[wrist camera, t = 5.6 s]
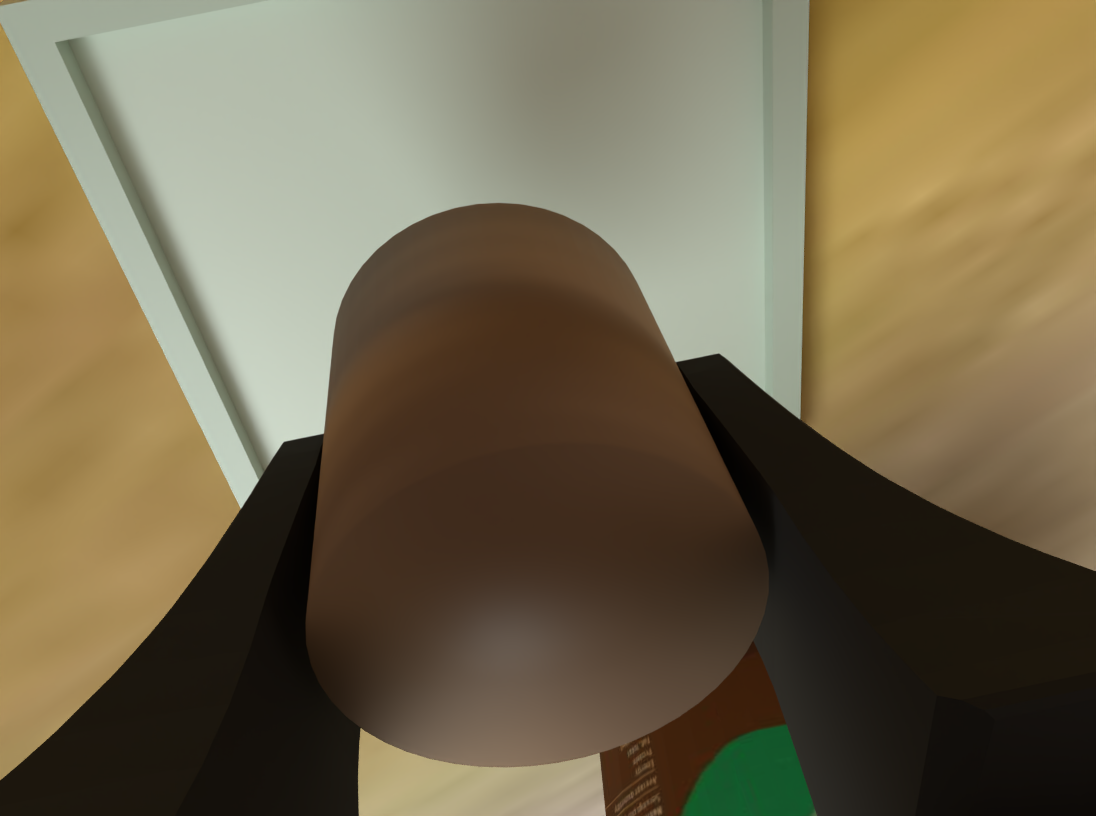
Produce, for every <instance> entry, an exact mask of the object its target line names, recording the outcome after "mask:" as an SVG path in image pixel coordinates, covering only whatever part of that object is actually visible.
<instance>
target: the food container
mask: <svg viewBox="0 0 1096 816" xmlns="http://www.w3.org/2000/svg"><path fill="white" fill-rule="evenodd" d="M600 761H601V771H602V781H603V791H604V801H605V811H606V816H817V814H816V811H815V808H814V805H813V802H812V799H811V796H810V793H809V790H808V787H807V784H806V781H805V778H804V775H803V772H802V769H801V766H800V763H799V760H798V757H797V754H796V751H795V748H794V745H793V742H792V739H791V736H790V733H789V730H788V727H787V724H786V722H785V719H784V716H783V713H782V710H781V707H780V704H779V701H778V698H777V695H776V692H775V690H774V687H773V685H772V682H771V680H770V677H769V675H768V673H767V670H766V668H765V665H764V663H763V660H762V658H761V656H760V654H759V652H758V650H757V647H756V645H755V643H754V641H752V643H751V645H750V647H749V648H748V650H747V652H746V653H745V655H744V656H743V658H742V659H741V660H740V662H739V663H738V664H737V666H736V667H735V668H734V670H733V671H732V672H731V673H730V674H729V675H728V676H727V677H726V678H725V679H724V680H723V681H722V683H721V684H720V685H719V686H718V687H717V688H716V689H715V690H713V691H712V692H711V693H710V694H709V695H708V696H706V697H705V698H704V699H703V700H702V701H701V702H699V703H698V704H697V705H695V706H694V707H692V708H691V709H690V710H688V711H687V712H685V713H684V714H682V715H681V716H680V717H678V718H676V719H675V720H673V721H671V722H669V723H668V724H666V725H664V726H663V727H661V728H659V729H657V730H655V731H653V732H651V733H649V734H647V735H645V736H643V737H640V738H638V739H636V740H634V741H632V742H629V743H626V744H624V745H621V746H618V747H616V748H613V749H610V750H607V751H604V752H600Z"/></svg>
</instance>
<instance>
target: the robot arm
mask: <svg viewBox="0 0 1096 816" xmlns="http://www.w3.org/2000/svg"><path fill="white" fill-rule="evenodd" d="M676 364H677V366H678V368H679V370H680V372H681V374H682V376H683V378H684V380H685V382H686V385H687V387H688V389H689V391H690V393H691V395H692V397H693V399H694V401H695V403H696V405H697V407H698V409H699V411H700V413H701V416H702V418H703V420H704V422H705V424H706V426H707V428H708V430H709V432H710V434H711V436H712V438H713V440H714V442H715V444H716V447H717V449H718V451H719V453H720V455H721V457H722V459H723V461H724V463H725V465H726V467H727V469H728V471H729V473H730V476H731V478H732V480H733V482H734V484H735V486H736V488H737V490H738V492H739V494H740V496H741V498H742V500H743V502H744V504H745V507H746V509H747V511H748V513H749V515H750V517H751V519H752V521H753V523H754V525H755V527H756V529H757V531H758V534H759V536H760V539H761V542H762V544H763V547H764V550H765V552H766V558H767V564H768V570H769V593H768V598H767V603H766V608H765V613H764V616H763V619H762V621H761V624H760V626H759V629H758V632H757V634H756V636H755V638H754V639H753V641H754V643H755V645H756V647H757V650H758V652H759V654H760V656H761V658H762V660H763V663H764V665H765V668H766V670H767V673H768V675H769V677H770V680H771V682H772V685H773V687H774V690H775V692H776V695H777V698H778V701H779V704H780V707H781V710H782V713H783V716H784V719H785V722H786V724H787V727H788V730H789V733H790V736H791V739H792V742H793V745H794V748H795V751H796V754H797V757H798V760H799V763H800V766H801V769H802V772H803V775H804V778H805V781H806V784H807V787H808V790H809V793H810V796H811V799H812V802H813V805H814V808H815V811H816V814H817V816H1096V571H1093V570H1090V569H1088V568H1085V567H1082V566H1079V565H1076V564H1074V563H1071V562H1068V561H1065V560H1063V559H1060V558H1057V557H1054V556H1051V555H1049V554H1046V553H1043V552H1041V551H1038V550H1036V549H1033V548H1030V547H1028V546H1025V545H1023V544H1020V543H1018V542H1015V541H1013V540H1010V539H1008V538H1006V537H1003V536H1001V535H999V534H997V533H994V532H992V531H990V530H988V529H985V528H983V527H981V526H979V525H976V524H974V523H972V522H970V521H968V520H965V519H963V518H961V517H959V516H957V515H955V514H953V513H950V512H948V511H946V510H944V509H942V508H940V507H938V506H936V505H934V504H932V503H930V502H929V501H927V500H925V499H923V498H921V497H919V496H918V495H916V494H914V493H912V492H910V491H908V490H907V489H905V488H903V487H901V486H899V485H897V484H896V483H894V482H892V481H890V480H888V479H887V478H885V477H883V476H882V475H880V474H878V473H877V472H875V471H873V470H872V469H870V468H869V467H867V466H866V465H864V464H862V463H861V462H859V461H858V460H856V459H855V458H853V457H852V456H850V455H849V454H847V453H846V452H844V451H843V450H841V449H840V448H839V447H837V446H836V445H834V444H833V443H831V442H830V441H829V440H827V439H826V438H824V437H823V436H822V435H820V434H819V433H818V432H816V431H815V430H814V429H812V428H811V427H810V426H808V425H807V424H806V423H804V422H803V421H802V420H800V419H799V418H798V417H796V416H795V415H794V414H792V413H791V412H790V411H788V410H787V409H786V408H785V407H783V406H782V405H781V404H780V403H778V402H777V401H776V400H775V399H774V398H772V397H771V396H770V395H769V394H767V393H766V392H765V391H764V390H763V389H761V388H760V387H759V386H758V385H757V384H755V383H754V382H753V381H752V380H751V379H750V378H748V377H747V376H746V375H745V374H744V373H743V372H741V371H740V370H739V369H738V368H737V367H736V366H734V365H733V364H732V363H731V362H730V361H729V360H727V359H726V358H725V357H723V356H722V355H721V354H719V353H718V354H713V355H708V356H703V357H698V358H693V359H688V360H684V361H679V362H676ZM323 438H324V434H319V435H314V436H309V437H304V438H300V439H295V440H290V441H285V442H283V443H282V445H281V446H280V448H279V449H278V451H277V452H276V454H275V455H274V457H273V458H272V460H271V462H270V463H269V465H268V466H267V468H266V470H265V471H264V473H263V474H262V476H261V478H260V479H259V481H258V482H257V484H256V486H255V487H254V489H253V491H252V492H251V494H250V495H249V497H248V498H247V500H246V502H245V503H244V505H243V506H242V508H241V510H240V511H239V513H238V514H237V516H236V517H235V519H234V520H233V522H232V523H231V525H230V526H229V528H228V529H227V531H226V532H225V534H224V535H223V537H222V538H221V540H220V541H219V543H218V545H217V546H216V548H215V549H214V551H213V552H212V553H211V555H210V556H209V558H208V559H207V561H206V562H205V564H204V565H203V566H202V568H201V569H200V570H199V572H198V573H197V574H196V576H195V577H194V578H193V580H192V581H191V583H190V584H189V585H188V587H187V588H186V589H185V591H184V592H183V593H182V595H181V596H180V597H179V599H178V600H177V601H176V603H175V604H174V605H173V607H172V608H171V609H170V610H169V612H168V613H167V614H166V615H165V617H164V618H163V619H162V620H161V621H160V623H159V624H158V625H157V626H156V627H155V629H154V630H153V631H152V632H151V633H150V635H149V636H148V637H147V638H146V639H145V640H144V641H143V642H142V644H141V645H140V646H139V647H138V648H137V649H136V650H135V651H134V653H133V654H132V655H131V656H130V657H129V658H128V659H127V660H126V662H125V663H124V664H123V665H122V666H121V667H120V668H119V669H118V670H117V671H116V672H115V673H114V675H113V676H112V677H111V678H110V679H109V680H108V681H107V682H106V683H105V684H104V685H103V686H102V687H101V688H100V689H99V690H98V691H97V692H95V693H94V694H93V695H92V696H91V697H90V698H89V699H88V700H87V701H86V702H85V703H84V704H83V705H82V706H81V707H80V708H79V709H78V710H77V711H76V712H75V713H74V714H73V715H72V716H71V717H70V718H69V719H68V720H67V721H66V722H65V723H64V724H63V725H62V726H61V727H60V728H59V729H58V730H57V731H56V732H55V733H54V734H53V735H52V736H51V737H49V738H48V739H47V740H46V741H45V742H44V743H43V744H42V745H41V746H39V747H38V748H37V749H36V750H35V751H34V752H33V753H32V754H30V755H29V756H28V757H27V758H26V759H25V760H24V761H23V762H21V763H20V764H19V765H18V766H17V767H16V768H15V769H13V770H12V771H11V772H10V773H9V774H7V775H6V776H5V777H4V778H3V779H2V780H0V816H359V810H358V759H359V740H360V727H359V726H358V725H357V724H355V723H354V722H353V721H351V720H350V719H349V718H347V717H346V716H345V715H344V714H343V713H342V712H341V711H340V710H339V708H338V707H337V706H336V705H335V704H334V703H333V702H332V701H331V700H330V698H329V697H328V695H327V694H326V692H325V691H324V690H323V688H322V687H321V685H320V684H319V682H318V679H317V677H316V675H315V673H314V670H313V668H312V666H311V663H310V658H309V654H308V650H307V646H306V623H305V622H306V612H307V602H308V591H309V581H310V571H311V561H312V550H313V540H314V530H315V520H316V509H317V499H318V489H319V479H320V468H321V458H322V448H323Z"/></svg>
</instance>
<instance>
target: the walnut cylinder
mask: <svg viewBox="0 0 1096 816" xmlns="http://www.w3.org/2000/svg"><path fill="white" fill-rule="evenodd" d="M768 593H769V570H768V564H767V558H766V552H765V550H764V547H763V544H762V542H761V539H760V536H759V534H758V531H757V529H756V527H755V525H754V523H753V521H752V519H751V517H750V515H749V513H748V511H747V509H746V507H745V504H744V502H743V500H742V498H741V496H740V494H739V492H738V490H737V488H736V486H735V484H734V482H733V480H732V478H731V476H730V473H729V471H728V469H727V467H726V465H725V463H724V461H723V459H722V457H721V455H720V453H719V451H718V449H717V447H716V444H715V442H714V440H713V438H712V436H711V434H710V432H709V430H708V428H707V426H706V424H705V422H704V420H703V418H702V416H701V413H700V411H699V409H698V407H697V405H696V403H695V401H694V399H693V397H692V395H691V393H690V391H689V389H688V387H687V385H686V382H685V380H684V378H683V376H682V374H681V372H680V370H679V368H678V366H677V364H676V362H675V360H674V358H673V356H672V354H671V351H670V349H669V347H668V345H667V343H666V341H665V339H664V337H663V335H662V333H661V331H660V329H659V327H658V325H657V323H656V320H655V318H654V316H653V314H652V312H651V310H650V308H649V306H648V304H647V302H646V300H645V298H644V296H643V294H642V291H641V289H640V287H639V285H638V283H637V281H636V279H635V278H634V276H633V274H632V273H631V271H630V269H629V267H628V266H627V264H626V263H625V262H624V260H623V259H622V258H621V257H620V256H619V254H618V253H617V252H616V251H615V249H613V248H612V247H611V246H610V245H609V244H608V243H607V242H606V241H605V240H604V239H602V238H601V237H600V236H599V235H597V234H596V233H595V232H593V231H592V230H590V229H589V228H587V227H586V226H584V225H583V224H581V223H579V222H577V221H574V220H572V219H570V218H568V217H566V216H564V215H561V214H558V213H555V212H553V211H550V210H547V209H543V208H538V207H533V206H528V205H523V204H511V203H486V204H474V205H469V206H463V207H458V208H453V209H450V210H447V211H444V212H440V213H437V214H434V215H431V216H429V217H427V218H425V219H423V220H420V221H418V222H416V223H414V224H412V225H410V226H409V227H407V228H405V229H404V230H402V231H401V232H399V233H397V234H396V235H394V236H393V237H392V238H390V239H389V240H388V241H387V242H386V243H384V244H383V245H382V246H381V247H379V248H378V249H377V250H376V251H375V252H374V253H373V254H372V255H371V256H370V258H369V259H368V260H367V261H366V262H365V263H364V264H363V265H362V267H361V268H360V269H359V271H358V272H357V274H356V275H355V277H354V278H353V280H352V281H351V283H350V285H349V287H348V289H347V291H346V293H345V295H344V297H343V299H342V301H341V305H340V308H339V311H338V314H337V317H336V323H335V329H334V336H333V346H332V356H331V366H330V376H329V387H328V397H327V407H326V417H325V427H324V438H323V448H322V458H321V468H320V479H319V489H318V499H317V509H316V520H315V530H314V540H313V550H312V561H311V571H310V581H309V591H308V602H307V612H306V622H305V623H306V646H307V650H308V654H309V658H310V663H311V666H312V668H313V670H314V673H315V675H316V677H317V679H318V682H319V684H320V685H321V687H322V688H323V690H324V691H325V692H326V694H327V695H328V697H329V698H330V700H331V701H332V702H333V703H334V704H335V705H336V706H337V707H338V708H339V710H340V711H341V712H342V713H343V714H344V715H345V716H346V717H347V718H349V719H350V720H351V721H353V722H354V723H355V724H357V725H358V726H359V727H360V728H362V729H363V730H364V731H366V732H368V733H370V734H371V735H373V736H375V737H376V738H378V739H380V740H382V741H383V742H385V743H388V744H390V745H392V746H395V747H397V748H399V749H402V750H404V751H406V752H410V753H413V754H416V755H419V756H423V757H426V758H429V759H434V760H439V761H443V762H448V763H453V764H461V765H470V766H479V767H522V766H536V765H544V764H551V763H559V762H563V761H568V760H573V759H578V758H583V757H586V756H590V755H593V754H597V753H600V752H604V751H607V750H610V749H613V748H616V747H618V746H621V745H624V744H626V743H629V742H632V741H634V740H636V739H638V738H640V737H643V736H645V735H647V734H649V733H651V732H653V731H655V730H657V729H659V728H661V727H663V726H664V725H666V724H668V723H669V722H671V721H673V720H675V719H676V718H678V717H680V716H681V715H682V714H684V713H685V712H687V711H688V710H690V709H691V708H692V707H694V706H695V705H697V704H698V703H699V702H701V701H702V700H703V699H704V698H705V697H706V696H708V695H709V694H710V693H711V692H712V691H713V690H715V689H716V688H717V687H718V686H719V685H720V684H721V683H722V681H723V680H724V679H725V678H726V677H727V676H728V675H729V674H730V673H731V672H732V671H733V670H734V668H735V667H736V666H737V664H738V663H739V662H740V660H741V659H742V658H743V656H744V655H745V653H746V652H747V650H748V648H749V647H750V645H751V643H752V641H753V639H754V638H755V636H756V634H757V632H758V629H759V626H760V624H761V621H762V619H763V616H764V613H765V608H766V603H767V598H768Z"/></svg>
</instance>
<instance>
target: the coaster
mask: <svg viewBox="0 0 1096 816" xmlns="http://www.w3.org/2000/svg"><path fill="white" fill-rule="evenodd" d="M0 23H1V25H2V27H3V29H4V31H5V33H6V35H7V37H8V39H9V41H10V43H11V45H12V47H13V49H14V51H15V53H16V55H17V57H18V59H19V61H20V63H21V65H22V67H23V69H24V71H25V73H26V75H27V77H28V79H29V81H30V83H31V85H32V87H33V89H34V91H35V93H36V95H37V97H38V99H39V101H40V103H41V106H42V108H43V110H44V112H45V114H46V116H47V118H48V120H49V122H50V124H51V126H52V128H53V130H54V132H55V134H56V136H57V138H58V140H59V142H60V144H61V146H62V148H63V150H64V152H65V154H66V156H67V158H68V160H69V162H70V164H71V166H72V168H73V170H74V172H75V174H76V176H77V178H78V180H79V182H80V184H81V186H82V188H83V190H84V192H85V194H86V196H87V198H88V200H89V202H90V205H91V207H92V209H93V211H94V213H95V215H96V217H97V219H98V221H99V223H100V225H101V227H102V229H103V231H104V233H105V235H106V237H107V239H108V241H109V243H110V245H111V247H112V249H113V251H114V253H115V255H116V257H117V259H118V261H119V263H120V265H121V267H122V269H123V271H124V273H125V275H126V277H127V279H128V281H129V283H130V285H131V287H132V289H133V291H134V293H135V295H136V297H137V299H138V301H139V304H140V306H141V308H142V310H143V312H144V314H145V316H146V318H147V320H148V322H149V324H150V326H151V328H152V330H153V332H154V334H155V336H156V338H157V340H158V342H159V344H160V346H161V348H162V350H163V352H164V354H165V356H166V358H167V360H168V362H169V364H170V366H171V368H172V370H173V372H174V374H175V376H176V378H177V380H178V382H179V384H180V386H181V388H182V390H183V392H184V394H185V396H186V398H187V401H188V403H189V405H190V407H191V409H192V411H193V413H194V415H195V417H196V419H197V421H198V423H199V425H200V427H201V429H202V431H203V433H204V435H205V437H206V439H207V441H208V443H209V445H210V447H211V449H212V451H213V453H214V455H215V457H216V459H217V461H218V463H219V465H220V467H221V469H222V471H223V473H224V475H225V477H226V479H227V481H228V483H229V485H230V487H231V489H232V491H233V493H234V495H235V497H236V500H237V502H238V504H239V506H240V508H242V506H243V505H244V503H245V502H246V500H247V498H248V497H249V495H250V494H251V492H252V491H253V489H254V487H255V486H256V484H257V482H258V481H259V479H260V478H261V476H262V474H263V473H264V471H265V470H266V468H267V466H268V465H269V463H270V462H271V460H272V458H273V457H274V455H275V454H276V452H277V451H278V449H279V448H280V446H281V445H282V443H283V442H285V441H290V440H295V439H300V438H304V437H309V436H314V435H319V434H324V427H325V417H326V407H327V397H328V387H329V376H330V366H331V356H332V346H333V336H334V329H335V323H336V317H337V314H338V311H339V308H340V305H341V301H342V299H343V297H344V295H345V293H346V291H347V289H348V287H349V285H350V283H351V281H352V280H353V278H354V277H355V275H356V274H357V272H358V271H359V269H360V268H361V267H362V265H363V264H364V263H365V262H366V261H367V260H368V259H369V258H370V256H371V255H372V254H373V253H374V252H375V251H376V250H377V249H378V248H379V247H381V246H382V245H383V244H384V243H386V242H387V241H388V240H389V239H390V238H392V237H393V236H394V235H396V234H397V233H399V232H401V231H402V230H404V229H405V228H407V227H409V226H410V225H412V224H414V223H416V222H418V221H420V220H423V219H425V218H427V217H429V216H431V215H434V214H437V213H440V212H444V211H447V210H450V209H453V208H458V207H463V206H469V205H474V204H486V203H511V204H523V205H528V206H533V207H538V208H543V209H547V210H550V211H553V212H555V213H558V214H561V215H564V216H566V217H568V218H570V219H572V220H574V221H577V222H579V223H581V224H583V225H584V226H586V227H587V228H589V229H590V230H592V231H593V232H595V233H596V234H597V235H599V236H600V237H601V238H602V239H604V240H605V241H606V242H607V243H608V244H609V245H610V246H611V247H612V248H613V249H615V251H616V252H617V253H618V254H619V256H620V257H621V258H622V259H623V260H624V262H625V263H626V264H627V266H628V267H629V269H630V271H631V273H632V274H633V276H634V278H635V279H636V281H637V283H638V285H639V287H640V289H641V291H642V294H643V296H644V298H645V300H646V302H647V304H648V306H649V308H650V310H651V312H652V314H653V316H654V318H655V320H656V323H657V325H658V327H659V329H660V331H661V333H662V335H663V337H664V339H665V341H666V343H667V345H668V347H669V349H670V351H671V354H672V356H673V358H674V360H675V362H679V361H684V360H688V359H693V358H698V357H703V356H708V355H713V354H718V353H719V354H721V355H722V356H723V357H725V358H726V359H727V360H729V361H730V362H731V363H732V364H733V365H734V366H736V367H737V368H738V369H739V370H740V371H741V372H743V373H744V374H745V375H746V376H747V377H748V378H750V379H751V380H752V381H753V382H754V383H755V384H757V385H758V386H759V387H760V388H761V389H763V390H764V391H765V392H766V393H767V394H769V395H770V396H771V397H772V398H774V399H775V400H776V401H777V402H778V403H780V404H781V405H782V406H783V407H785V408H786V409H787V410H788V411H790V412H791V413H792V414H794V415H795V416H796V417H798V418H799V419H800V410H801V364H802V318H803V272H804V226H805V180H806V134H807V88H808V42H809V0H3V1H2V2H0Z"/></svg>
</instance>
